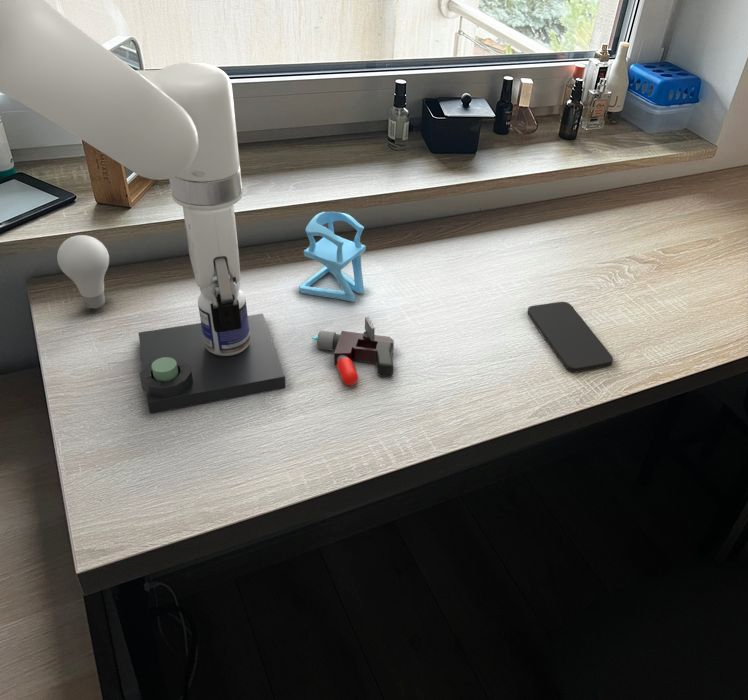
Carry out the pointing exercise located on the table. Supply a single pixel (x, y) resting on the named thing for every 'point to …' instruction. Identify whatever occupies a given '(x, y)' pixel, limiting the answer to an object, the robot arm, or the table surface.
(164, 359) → the button
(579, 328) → the phone
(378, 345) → the toy gun
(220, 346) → the pill bottle
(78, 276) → the lightbulb
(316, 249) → the chair
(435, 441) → the table surface
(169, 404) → the dark grey button base
